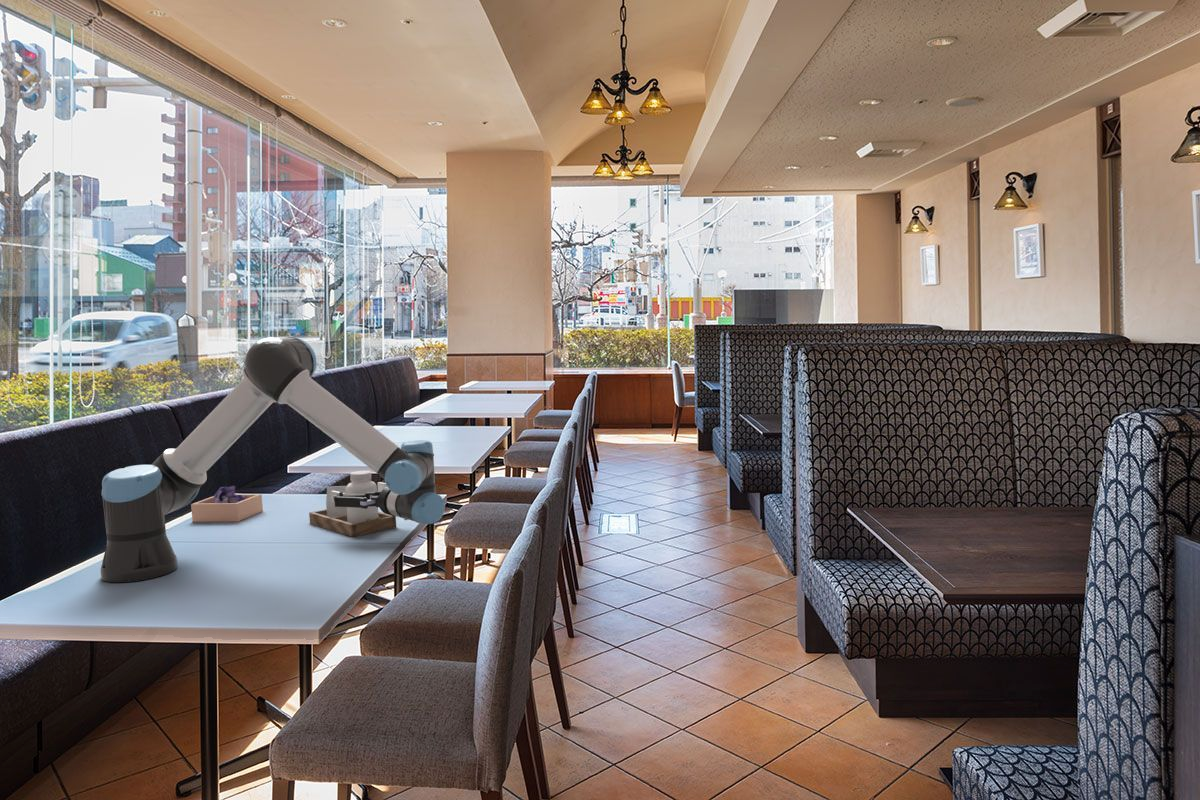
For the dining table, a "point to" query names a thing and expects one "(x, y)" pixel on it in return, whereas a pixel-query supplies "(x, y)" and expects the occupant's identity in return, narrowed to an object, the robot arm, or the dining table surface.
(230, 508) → the flower planter
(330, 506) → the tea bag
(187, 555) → the dining table surface
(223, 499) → the flower
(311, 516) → the slot rack
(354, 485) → the pill bottle
